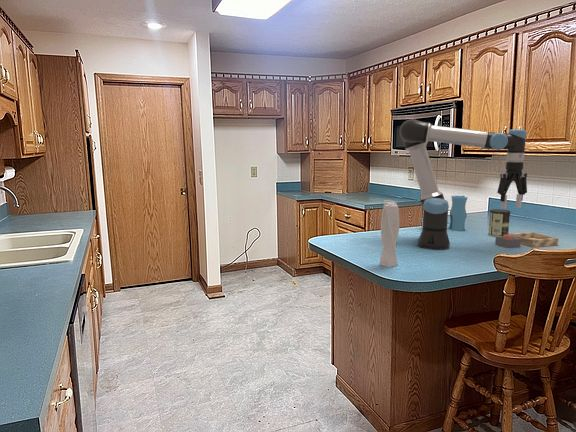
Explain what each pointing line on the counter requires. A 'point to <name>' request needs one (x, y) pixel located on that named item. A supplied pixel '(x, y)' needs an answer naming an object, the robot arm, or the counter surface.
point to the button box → (507, 242)
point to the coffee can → (499, 222)
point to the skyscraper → (389, 233)
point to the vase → (458, 213)
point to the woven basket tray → (536, 239)
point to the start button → (508, 236)
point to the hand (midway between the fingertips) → (510, 207)
